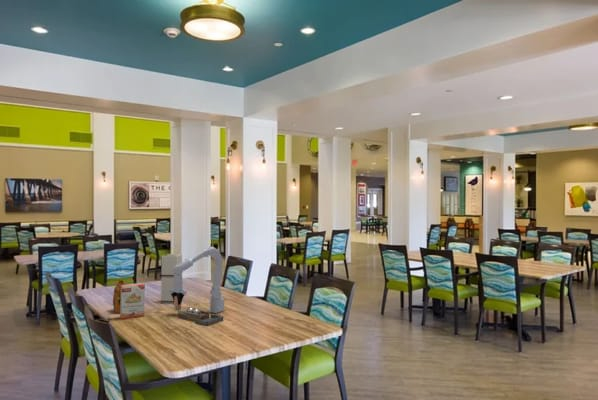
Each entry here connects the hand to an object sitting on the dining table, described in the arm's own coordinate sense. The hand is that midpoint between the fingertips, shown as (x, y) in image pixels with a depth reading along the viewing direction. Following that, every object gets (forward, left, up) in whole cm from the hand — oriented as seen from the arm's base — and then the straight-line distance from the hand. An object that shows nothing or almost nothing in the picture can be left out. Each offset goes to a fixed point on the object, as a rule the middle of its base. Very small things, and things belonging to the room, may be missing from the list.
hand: (177, 303), depth 272 cm
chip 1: (0, +13, -2) cm, 13 cm away
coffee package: (+16, -38, -7) cm, 42 cm away
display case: (-21, -31, -7) cm, 38 cm away
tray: (0, +29, -7) cm, 30 cm away
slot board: (0, +15, -7) cm, 17 cm away
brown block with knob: (0, 0, -4) cm, 4 cm away
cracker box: (+20, -20, -7) cm, 29 cm away
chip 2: (0, +18, -2) cm, 18 cm away
